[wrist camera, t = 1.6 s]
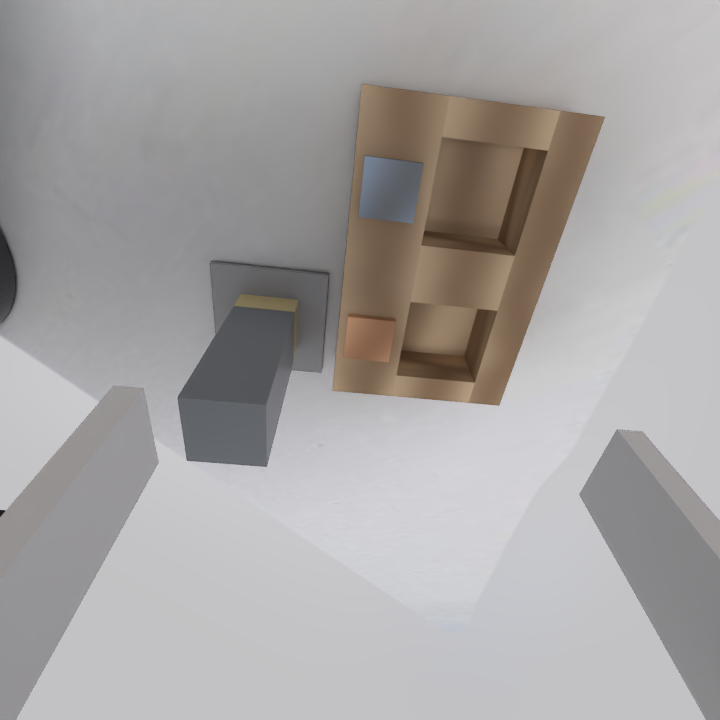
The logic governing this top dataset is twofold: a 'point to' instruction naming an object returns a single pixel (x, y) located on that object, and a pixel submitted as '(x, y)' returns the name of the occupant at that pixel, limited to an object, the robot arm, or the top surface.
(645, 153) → the top surface
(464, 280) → the socket board
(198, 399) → the plug
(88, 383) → the top surface
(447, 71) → the top surface
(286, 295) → the mat
